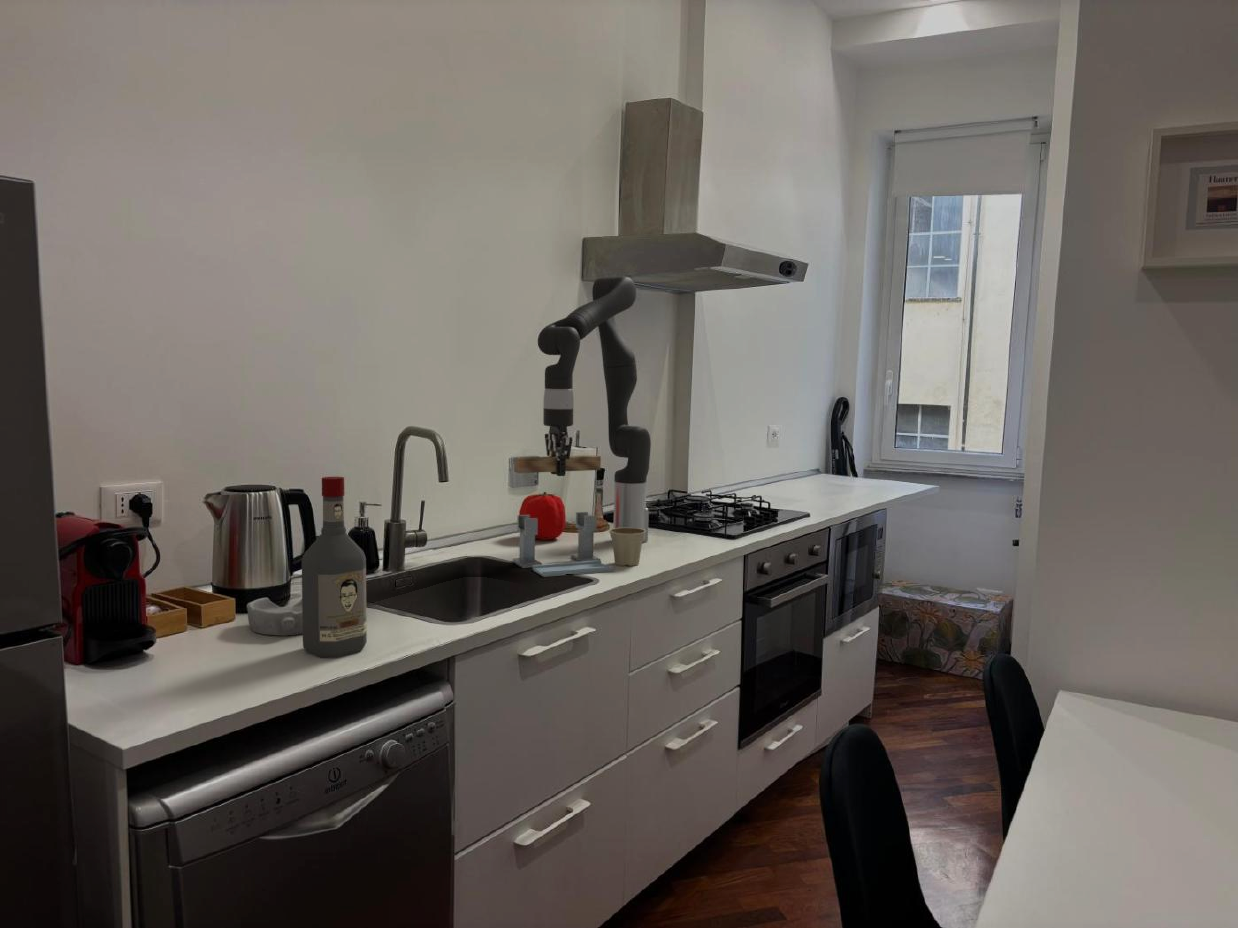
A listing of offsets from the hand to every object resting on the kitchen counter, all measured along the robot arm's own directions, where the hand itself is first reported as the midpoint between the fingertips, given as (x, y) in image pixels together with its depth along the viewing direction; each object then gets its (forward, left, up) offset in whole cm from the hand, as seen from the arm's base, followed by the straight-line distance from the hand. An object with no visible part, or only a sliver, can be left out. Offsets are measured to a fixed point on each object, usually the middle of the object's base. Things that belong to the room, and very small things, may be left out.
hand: (557, 474), depth 232 cm
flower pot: (-16, +8, -23) cm, 29 cm away
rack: (0, 0, -22) cm, 22 cm away
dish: (+68, +38, -23) cm, 81 cm away
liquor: (+62, +55, -23) cm, 86 cm away
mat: (0, +11, -22) cm, 25 cm away
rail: (0, 0, +1) cm, 1 cm away
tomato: (-8, -32, -23) cm, 40 cm away
